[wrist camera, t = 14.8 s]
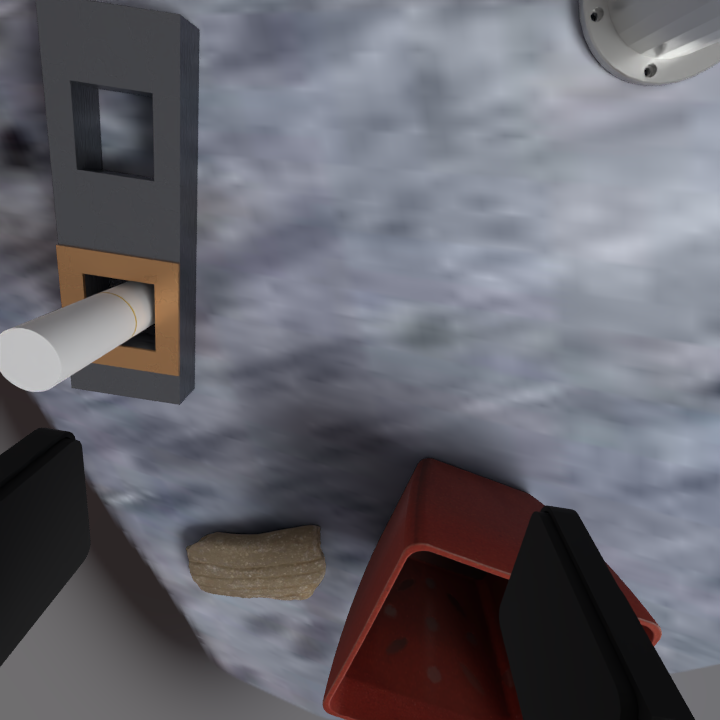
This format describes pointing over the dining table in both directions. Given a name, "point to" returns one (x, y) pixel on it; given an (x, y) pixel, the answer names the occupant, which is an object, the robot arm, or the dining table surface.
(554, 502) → the dining table surface
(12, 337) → the tube
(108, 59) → the rack
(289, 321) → the dining table surface
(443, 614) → the plant pot
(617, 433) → the dining table surface
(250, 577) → the decorative stone
